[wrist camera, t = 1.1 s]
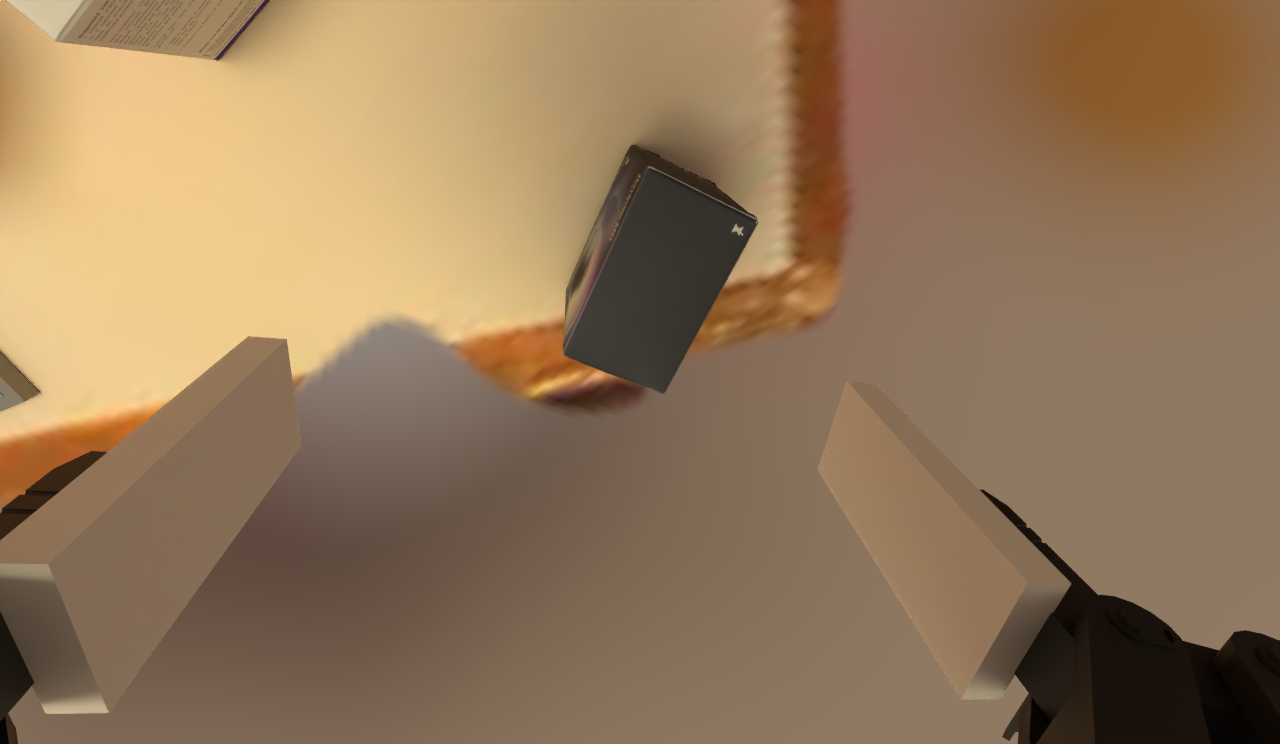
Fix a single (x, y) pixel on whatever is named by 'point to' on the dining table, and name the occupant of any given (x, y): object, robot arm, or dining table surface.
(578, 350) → the small box
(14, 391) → the slate tile
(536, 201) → the dining table surface
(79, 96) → the dining table surface
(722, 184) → the dining table surface
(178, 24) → the supplement box
